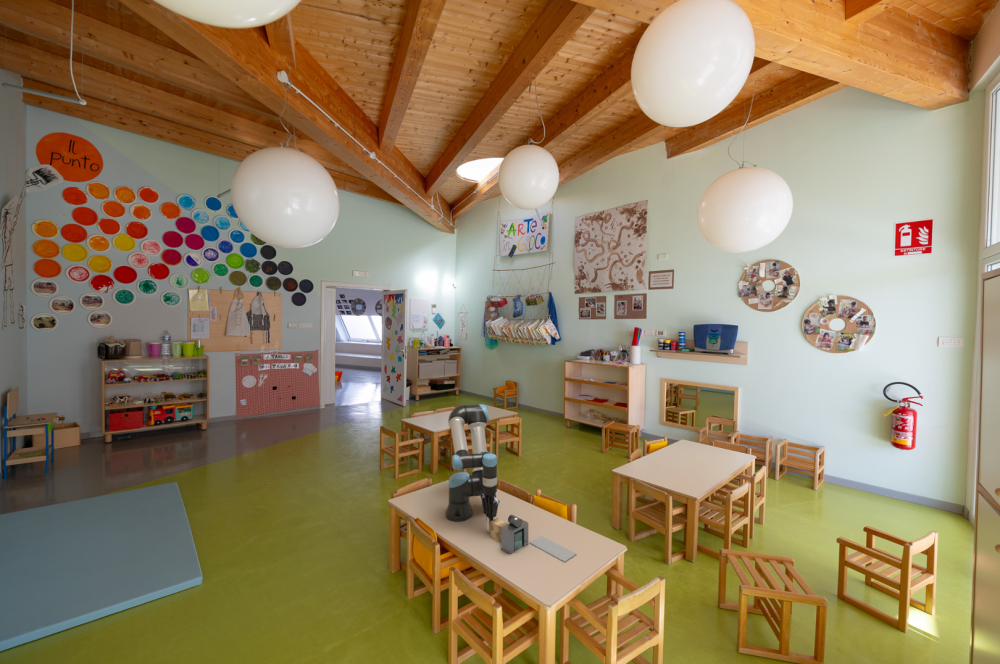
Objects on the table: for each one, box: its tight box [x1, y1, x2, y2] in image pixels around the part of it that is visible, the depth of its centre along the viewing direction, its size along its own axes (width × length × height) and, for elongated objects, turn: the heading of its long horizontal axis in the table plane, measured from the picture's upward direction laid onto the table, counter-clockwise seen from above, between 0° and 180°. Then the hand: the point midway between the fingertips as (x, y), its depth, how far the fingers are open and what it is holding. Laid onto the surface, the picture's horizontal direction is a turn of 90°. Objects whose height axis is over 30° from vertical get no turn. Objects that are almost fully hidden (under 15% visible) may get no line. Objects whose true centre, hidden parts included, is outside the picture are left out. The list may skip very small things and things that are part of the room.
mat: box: [529, 535, 578, 563], centre depth 202 cm, size 22×9×1 cm, turn 43°
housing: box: [500, 514, 529, 555], centre depth 204 cm, size 6×13×15 cm, turn 133°
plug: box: [489, 517, 523, 552], centre depth 209 cm, size 18×5×8 cm, turn 43°
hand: (489, 528), depth 217 cm, fingers closed
